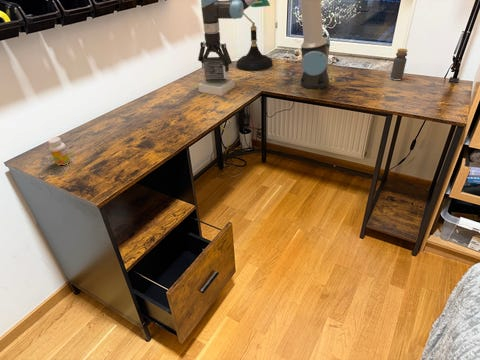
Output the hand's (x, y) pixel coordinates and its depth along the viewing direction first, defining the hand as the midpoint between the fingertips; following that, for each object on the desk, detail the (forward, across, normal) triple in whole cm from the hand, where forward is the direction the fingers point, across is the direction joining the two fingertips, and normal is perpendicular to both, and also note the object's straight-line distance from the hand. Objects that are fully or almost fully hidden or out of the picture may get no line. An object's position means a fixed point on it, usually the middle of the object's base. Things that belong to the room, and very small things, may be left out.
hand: (216, 76), depth 174 cm
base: (+7, 0, 0) cm, 7 cm away
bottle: (+7, +82, +49) cm, 96 cm away
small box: (+1, 0, 0) cm, 1 cm away
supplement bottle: (+7, -13, -86) cm, 87 cm away
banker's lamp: (+7, 0, +44) cm, 44 cm away
